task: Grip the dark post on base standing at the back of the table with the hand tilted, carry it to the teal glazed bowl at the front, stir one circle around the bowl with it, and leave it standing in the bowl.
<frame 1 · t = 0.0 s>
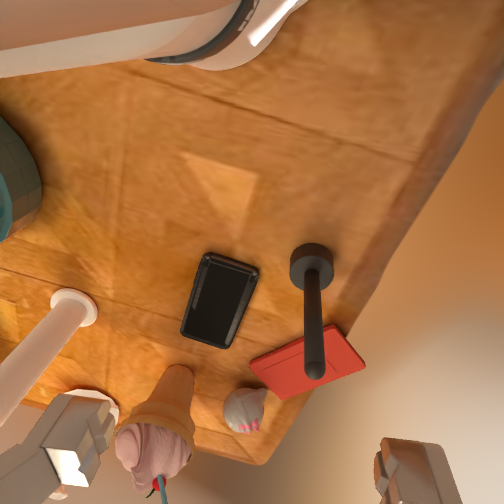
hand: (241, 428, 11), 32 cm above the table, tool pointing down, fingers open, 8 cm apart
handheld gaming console: (264, 382, 56), point 1 cm above the table
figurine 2: (224, 422, 54), point 6 cm above the table
dark post on base: (311, 261, 44), on the table
candle: (76, 305, 54), on the table
ice cream cone: (180, 372, 59), on the table
figurine: (88, 401, 69), on the table
phone: (218, 300, 49), on the table
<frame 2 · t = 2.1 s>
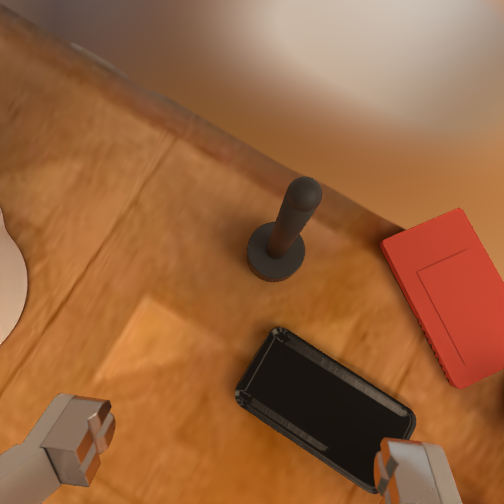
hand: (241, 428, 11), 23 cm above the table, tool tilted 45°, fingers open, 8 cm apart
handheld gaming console: (498, 371, 32), point 1 cm above the table
dark post on base: (273, 255, 35), on the table
phone: (322, 404, 32), on the table
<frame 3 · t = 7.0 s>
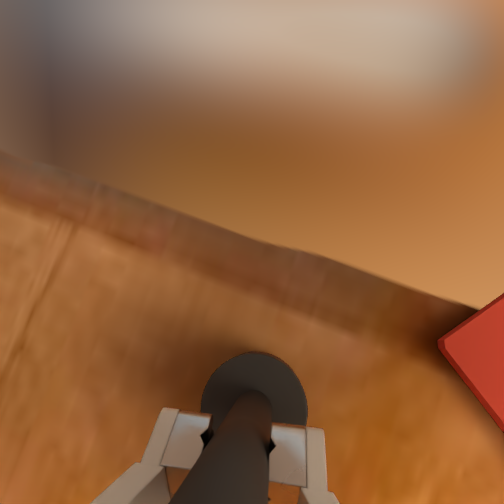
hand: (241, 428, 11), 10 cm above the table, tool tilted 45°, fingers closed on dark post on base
dark post on base: (256, 399, 20), on the table, touching gripper
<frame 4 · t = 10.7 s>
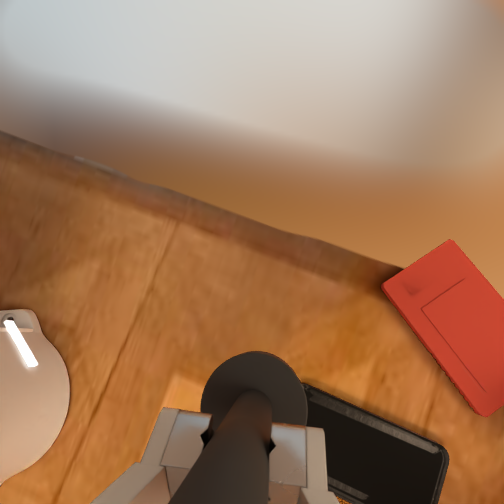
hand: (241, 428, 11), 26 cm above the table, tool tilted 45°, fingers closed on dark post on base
dark post on base: (256, 398, 20), point 16 cm above the table, touching gripper
phone: (355, 452, 34), on the table
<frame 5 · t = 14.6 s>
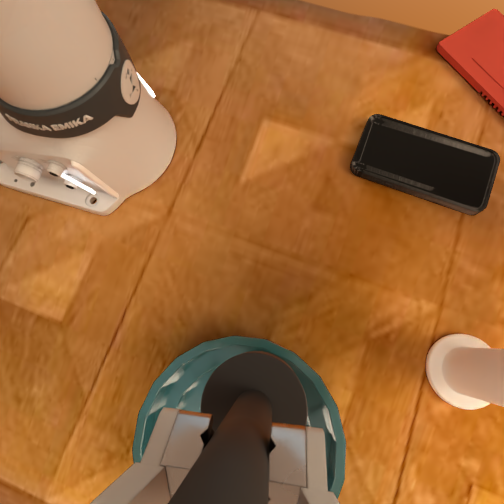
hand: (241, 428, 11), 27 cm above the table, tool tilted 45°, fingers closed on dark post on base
bowl: (243, 428, 35), on the table
dark post on base: (256, 398, 20), point 17 cm above the table, touching gripper
candle: (460, 370, 35), on the table
phone: (420, 166, 41), on the table
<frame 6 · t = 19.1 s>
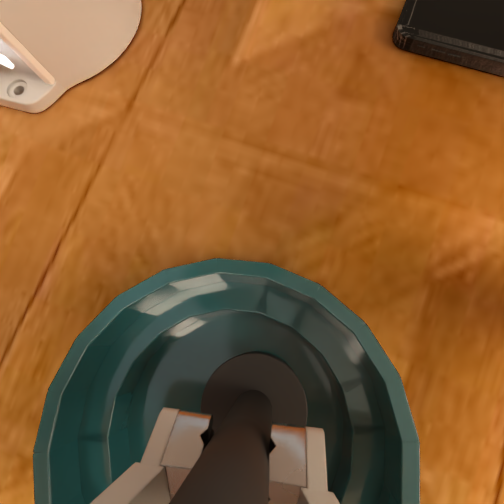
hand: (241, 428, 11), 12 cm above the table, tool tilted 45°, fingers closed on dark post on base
bowl: (235, 419, 22), on the table
dark post on base: (256, 399, 20), point 2 cm above the table, touching gripper
phone: (497, 34, 28), on the table
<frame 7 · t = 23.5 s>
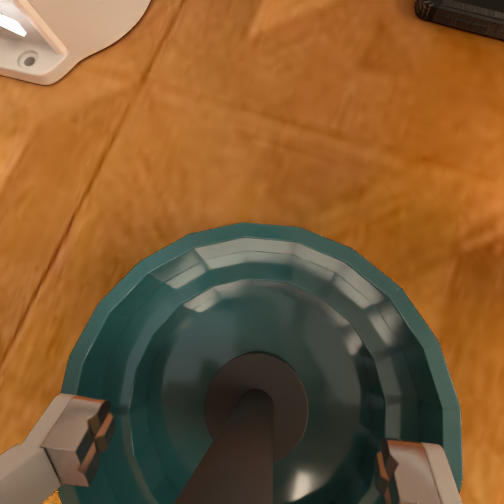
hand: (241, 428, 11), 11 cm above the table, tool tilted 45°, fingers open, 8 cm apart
bowl: (257, 395, 21), on the table
dark post on base: (258, 398, 20), point 1 cm above the table, touching bowl
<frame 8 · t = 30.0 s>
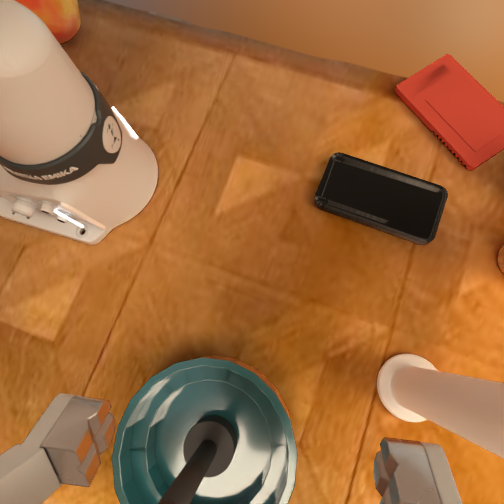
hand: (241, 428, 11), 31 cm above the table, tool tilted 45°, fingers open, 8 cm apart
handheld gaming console: (500, 153, 45), point 1 cm above the table
bowl: (213, 438, 39), on the table
dark post on base: (213, 440, 38), point 1 cm above the table, touching bowl
candle: (408, 386, 39), on the table
apple: (81, 14, 51), point 3 cm above the table
phone: (377, 200, 45), on the table
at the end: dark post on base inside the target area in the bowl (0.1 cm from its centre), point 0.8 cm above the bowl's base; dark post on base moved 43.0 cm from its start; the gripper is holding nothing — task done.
